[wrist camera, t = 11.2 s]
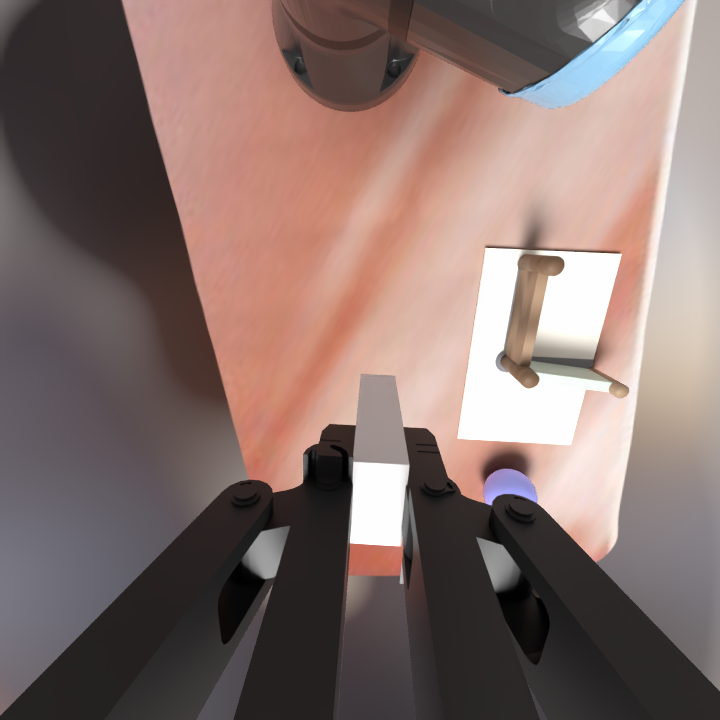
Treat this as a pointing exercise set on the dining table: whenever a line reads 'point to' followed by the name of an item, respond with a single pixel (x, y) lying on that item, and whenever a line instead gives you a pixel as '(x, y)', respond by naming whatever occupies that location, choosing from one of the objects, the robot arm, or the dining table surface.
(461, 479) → the dining table surface
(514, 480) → the sphere
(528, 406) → the card
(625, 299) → the dining table surface
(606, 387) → the folding fence panel
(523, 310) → the fixed fence section
